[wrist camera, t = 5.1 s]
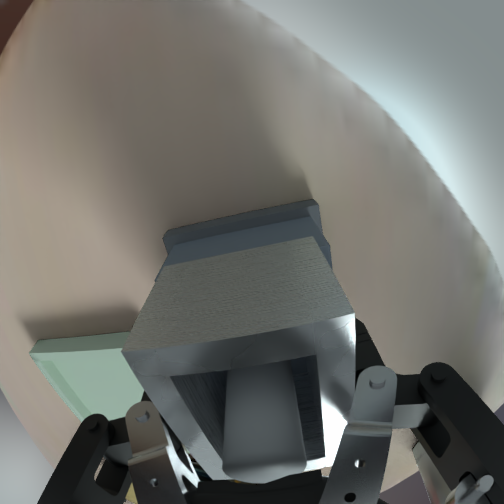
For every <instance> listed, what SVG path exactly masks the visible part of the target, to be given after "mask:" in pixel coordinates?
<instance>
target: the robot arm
mask: <svg viewBox="0 0 504 504" xmlns="http://www.w3.org/2000/svg"><path fill="white" fill-rule="evenodd" d="M355 345H356V355H355V394H354V398H353V403H352V407H351V411H350V415H349V419H348V422H347V425H345V426H344V429H343V432H342V436H341V439H340V443H339V446H338V449H337V453H336V456H335V459H334V462H333V465H332V468H331V471H330V474H329V476H322V474H321V469H320V470H314V471H309V472H304V473H298V474H291V475H288V476H285V477H282V478H279V479H276V480H273V481H271V482H268V483H264V484H261V485H250V484H243V483H236V482H230V481H200V480H199V478H198V476H197V474H196V472H195V469H194V467H193V465H192V462H191V460H190V457H189V455H188V453H187V450H186V448H185V446H184V445H183V444H182V442H181V441H180V440H179V438H178V437H177V436H176V434H175V433H174V432H173V430H172V429H171V428H170V426H169V425H168V424H167V422H166V421H165V420H164V418H163V417H162V415H161V414H160V413H159V411H158V410H157V408H156V407H155V405H154V404H153V402H152V401H151V399H150V398H149V396H148V395H147V393H146V392H145V390H144V392H143V395H142V399H141V402H138V403H136V404H134V405H133V406H131V407H130V408H129V410H128V411H127V413H126V416H125V417H122V418H118V419H114V420H110V421H109V420H108V419H107V418H106V417H105V416H104V415H102V414H98V413H97V414H92V415H90V416H88V417H86V418H85V419H84V420H83V421H82V423H81V425H80V426H79V428H78V430H77V431H76V433H75V435H74V437H73V438H72V440H71V442H70V444H69V445H68V447H67V449H66V451H65V452H64V454H63V456H62V458H61V460H60V461H59V463H58V465H57V467H56V469H55V471H54V472H53V474H52V476H51V478H50V480H49V482H48V484H47V485H46V487H45V490H44V491H43V493H42V495H41V497H40V499H39V501H38V503H37V504H123V503H124V500H125V498H126V495H127V493H128V490H129V488H130V485H131V483H132V484H133V488H134V492H135V495H136V499H137V503H138V504H388V503H386V502H385V501H383V500H381V499H380V498H379V494H380V490H381V486H382V482H383V477H384V473H385V468H386V463H387V458H388V453H389V447H390V442H391V435H392V429H399V428H410V429H411V430H412V432H413V433H414V435H415V436H416V438H417V439H418V441H419V442H418V443H417V444H416V445H415V447H414V449H413V454H414V457H415V460H416V464H417V466H418V468H419V471H420V473H421V476H422V479H423V481H424V484H425V487H426V490H427V493H428V496H429V499H430V502H431V504H504V425H503V424H502V422H501V421H500V420H499V419H498V418H497V417H496V415H495V414H494V413H493V412H492V411H491V410H490V408H489V407H488V406H487V405H486V404H485V403H484V402H483V401H482V399H481V398H480V397H479V396H478V395H477V394H476V393H475V392H474V391H473V389H472V388H471V387H470V386H469V385H468V384H467V383H466V382H465V381H464V380H463V379H462V377H461V376H460V375H459V374H458V373H457V372H456V371H455V370H454V369H453V368H452V367H451V366H449V365H448V364H445V363H440V362H436V363H431V364H429V365H427V366H425V367H424V368H423V370H422V371H421V373H420V374H414V375H400V374H396V373H395V372H394V371H393V370H392V369H390V368H388V367H386V366H385V365H384V363H383V361H382V359H381V357H380V355H379V353H378V351H377V349H376V347H375V345H374V343H373V341H372V340H371V337H370V335H369V334H368V331H367V329H366V327H365V325H364V323H362V322H361V321H359V320H358V319H357V318H355ZM103 457H104V458H105V459H106V460H105V462H104V464H103V466H102V468H101V470H100V472H99V474H98V476H97V478H96V481H95V480H94V475H95V472H96V470H97V468H98V466H99V464H100V462H101V460H102V458H103Z"/></svg>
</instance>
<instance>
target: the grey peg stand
mask: <svg viewBox="0 0 504 504" xmlns="http://www.w3.org/2000/svg"><path fill="white" fill-rule="evenodd" d="M310 236H313V237H314V239H315V241H316V243H317V244H318V246H319V248H320V250H321V251H322V253H323V255H324V257H325V258H326V260H327V262H328V264H329V266H330V267H331V269H332V261H331V252H330V245H329V243H328V242H327V240H326V239H325V237H324V236H323V232H322V225H321V218H320V211H319V205H318V203H317V202H316V201H315V200H314V199H311V200H306V201H301V202H295V203H290V204H285V205H280V206H275V207H270V208H265V209H261V210H256V211H251V212H246V213H242V214H237V215H232V216H228V217H223V218H219V219H214V220H210V221H205V222H201V223H197V224H192V225H188V226H184V227H179V228H175V229H171V230H168V231H167V232H166V234H165V235H164V237H163V241H164V244H165V247H166V250H167V253H168V257H167V259H166V260H165V262H164V264H163V266H162V268H161V269H160V271H159V273H158V275H157V277H156V279H155V282H156V280H157V279H158V277H159V275H160V273H161V271H162V269H163V267H164V266H169V265H173V264H178V263H183V262H188V261H193V260H198V259H203V258H207V257H212V256H217V255H222V254H227V253H232V252H237V251H241V250H246V249H251V248H256V247H261V246H266V245H271V244H276V243H281V242H286V241H290V240H295V239H300V238H305V237H310ZM305 372H308V370H307V363H306V356H305V357H300V358H296V359H290V360H285V361H280V362H274V363H269V364H263V365H257V366H251V367H244V368H237V369H230V370H227V389H226V406H225V423H224V442H223V462H222V470H223V472H224V473H225V474H226V475H227V476H229V477H230V478H233V479H235V480H238V481H242V482H248V483H268V482H271V481H273V480H276V479H279V478H282V477H285V476H288V475H291V474H298V473H302V472H303V471H304V470H305V468H306V466H307V461H306V454H305V448H304V441H303V435H302V428H301V422H300V416H299V410H298V403H297V397H296V391H295V385H294V379H293V375H295V374H300V373H305Z"/></svg>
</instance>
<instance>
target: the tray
mask: <svg viewBox="0 0 504 504" xmlns="http://www.w3.org/2000/svg"><path fill="white" fill-rule="evenodd" d="M130 332H131V331H129V332H120V333H111V334H102V335H92V336H82V337H71V338H59V339H46V340H38V341H37V343H36V344H35V345H34V347H33V348H32V349H31V351H30V352H29V354H30V356H31V357H32V359H33V360H34V362H35V363H36V365H37V366H38V368H39V369H40V370H41V372H42V373H43V375H44V376H45V377H46V379H47V380H48V382H49V383H50V384H51V386H52V387H53V388H54V390H55V391H56V392H57V393H58V395H59V396H60V397H61V398H62V400H63V401H64V402H65V403H66V405H67V406H68V407H69V408H70V409H71V411H72V412H73V413H74V414H75V415H76V416H77V418H78V419H79V420H80V421H81V422H82V421H83V420H84V419H85V418H86V417H88V416H90V415H92V414H97V413H98V414H102V415H104V416H105V417H106V418H107V419H108V420H109V421H110V420H114V419H118V418H122V417H125V416H126V413H127V411H128V410H129V408H130V407H131V406H133V405H134V404H136V403H138V402H141V399H142V395H143V392H144V389H143V387H142V386H141V384H140V383H139V381H138V379H137V378H136V376H135V375H134V373H133V371H132V370H131V368H130V366H129V365H128V363H127V361H126V360H125V358H124V356H123V354H122V353H121V350H122V348H123V346H124V344H125V342H126V340H127V338H128V336H129V334H130ZM185 448H186V447H185ZM186 450H187V449H186ZM187 453H190V452H189V451H188V450H187Z"/></svg>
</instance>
